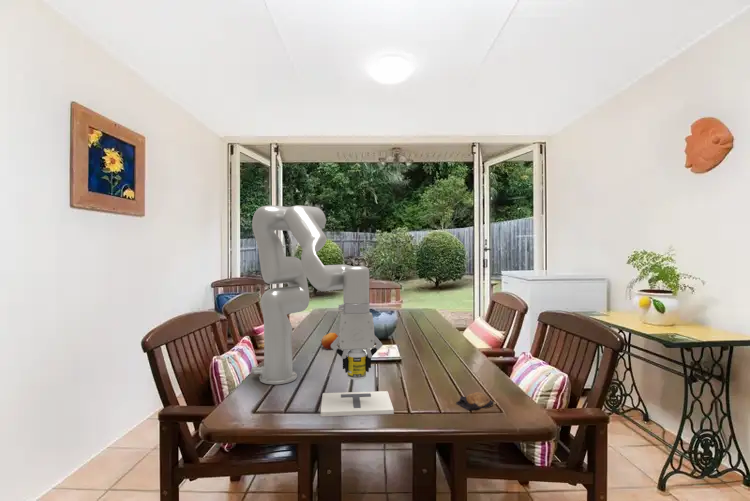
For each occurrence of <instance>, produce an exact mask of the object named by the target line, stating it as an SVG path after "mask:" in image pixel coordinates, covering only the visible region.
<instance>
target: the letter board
mask: <svg viewBox="0 0 750 501" xmlns="http://www.w3.org/2000/svg"><path fill="white" fill-rule="evenodd" d="M394 412H395V411H394V407H393V403H392V400H391V397H390V395H389V392H388V390H386V391H385V390H384V391H383V390H382V391H381V390H380V391H379V390H378V391H377V390H376V391H350V392H346V391H345V392H323V393H322V397H321V408H320V417H322V418H323V417H343V416H345V417H347V416H350V417H351V416H374V415H377V416H378V415H395V413H394Z"/></svg>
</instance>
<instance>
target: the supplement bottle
mask: <svg viewBox="0 0 750 501" xmlns="http://www.w3.org/2000/svg"><path fill="white" fill-rule="evenodd" d="M366 354H367V352H366V350H365V349H352V350H348V352H347V357H348V372H347V373H346V374H347V377H348V378H347V379H350V380H355V381H359V380H364V379H365V378H366V377H367V372H366Z"/></svg>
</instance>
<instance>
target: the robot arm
mask: <svg viewBox="0 0 750 501" xmlns="http://www.w3.org/2000/svg"><path fill="white" fill-rule="evenodd" d="M326 218H327V217H326V215H325V213H324V211H323V210H322V209H321V208H319V207H317V206H309V205H297V204H296V205H292V206H283V205H263V206H260V207H258V208H257V209H256V210H255V212H254V213H253V217H252V222H251V225H252V226H251V227H252V232H253V235H254V236H253V237H254V240H255V242H256V245H257V249H258V257H259V265H260V271H261V272H260V273H261V277H262V279H263V281H264V282H265V283H266V284H268V285H280V284H287V286H283V287H282V286H281V287H280V286H279V287H274V288H270V289H268V290H266V291H265V292H264V293H263V294H262V296H261V298H260V305H261V306H260V307H261V311H262V316H263V336H264V337H263V341H264V342H263V348H264V349H263V352H264V354H263V357H264V358H263V361H264V362H263V363H264V364H263V365H261V367H260V366H253V367H251V370H250V371H251V374H253V375H260V376H259V382H261V383H263V384H266V385H283V384H288V383H292V382H294V381H295V380H297V378H298V374H297V372H296V371H294V370H293V325H292V323H291V321H290V319H289V317H288V315H289V314H295V313H300V312H301V313H302V312H303V311H305V310H307V308H308V307H309V304H310V290H309V283H310V285H311V286H313V288H315V289H316V290H317V291H320V292H329V291H338V290H343V303H342V304H338V310H339V311H340V310H341V311H342V312H341V314H340V317H339V328H338V329H339V331H338V337H337V338H336V339H335V340H334V342H333V343H332V344H331V348H332V349H331V350H333V351H335V352H336V353H337V354H338V355H339V356H340V357H341V359H342V370H344V373H345V374H348V373H347V372H348V352H349V351H350V350H352V349H363V350H365V352H366V373H369V372H370V369H371V368H372V357H373V356H374V355H376V353H377V352H378V351H379V350H380V349H381V348H382V347H383V346H384V345H383V343H382V341H380V340H379V338H378V337H377V335H375V325H374V323H375V322H374V317H373V313H372V312H370V269H369V268H368V267H367V266H364V265H363V266H362V265H353V266H352V265H349V264H327V265H324V263H323V262H322V261H321V260H320V258H319V256H318V255H317V253H318V252H319V251H320V250H321V249H322V248H323V247H324V246H325V245H326V242H327V236H326V234H325V233H324V231H323V229H324V227H325V226H326V222H327V219H326ZM275 231H282V232H283V231H286V232H288V231H290V232H291V234H292V236H293V237H294V239H295V240H296V241H297V243H298V244H299V247H300V248H301V249H302V250H301V256H300V258H299V257H296V256H286V255H285V252H284V246H283V245H284V244H283V242H282V240H281V239H280V237H279V236H278V234H277V233H276V232H275ZM308 281H309V283H308ZM337 344H338V345H339V346H337Z"/></svg>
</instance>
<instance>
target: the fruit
mask: <svg viewBox="0 0 750 501" xmlns="http://www.w3.org/2000/svg"><path fill="white" fill-rule="evenodd" d="M338 336H339V334H337V333H336V332H329V333H327V334H325V335H323V336H322V338H321V342H320V343H321V346H322V347H323V348H324V349H325V350H333V349H332V348H331V344H332V343H333V342H334V340H335V339H336V338H337V337H338ZM338 345H339V343H338V344H337V346H338ZM338 347H339V346H338Z"/></svg>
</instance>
